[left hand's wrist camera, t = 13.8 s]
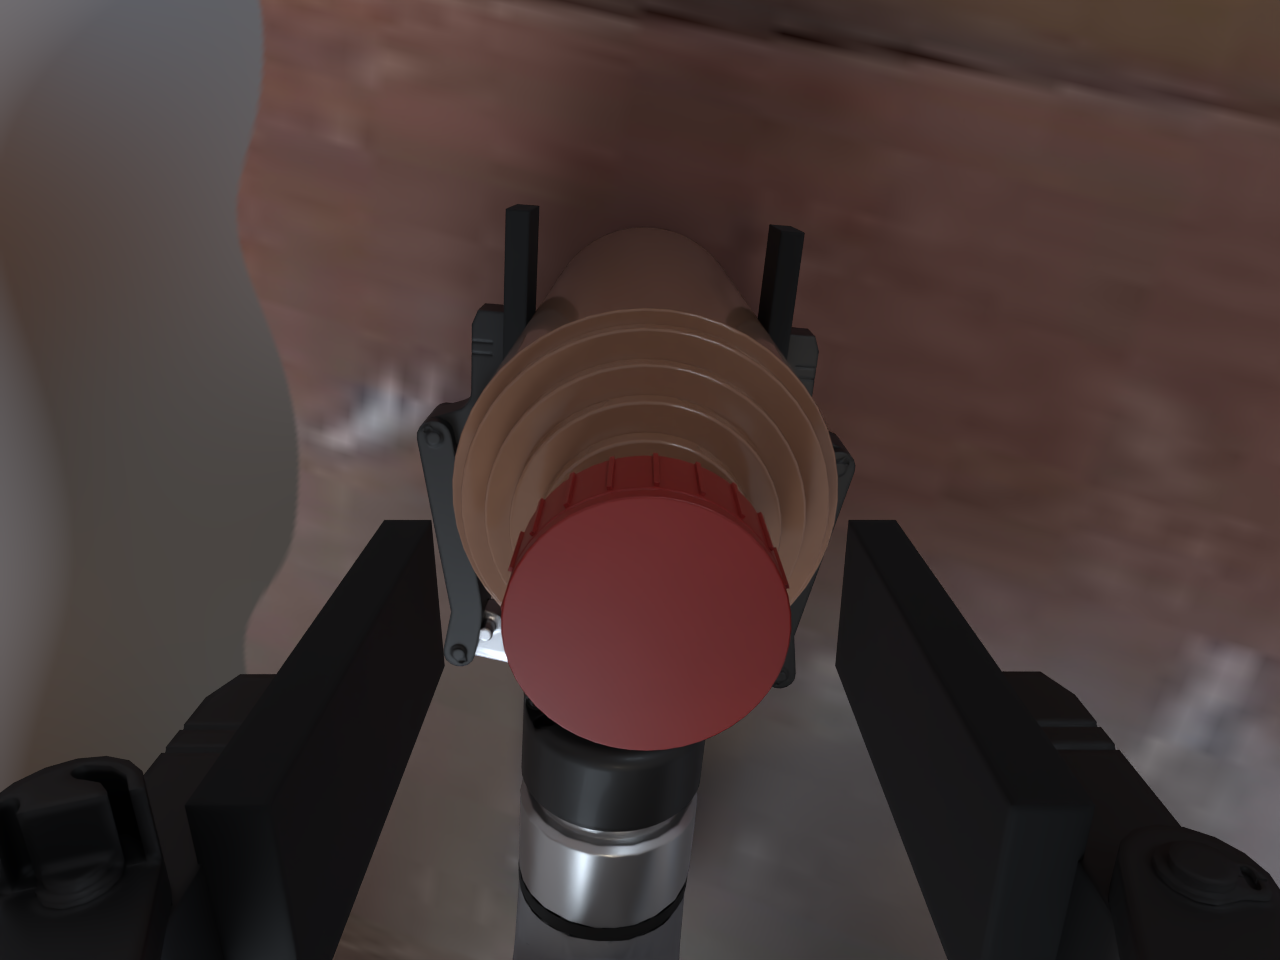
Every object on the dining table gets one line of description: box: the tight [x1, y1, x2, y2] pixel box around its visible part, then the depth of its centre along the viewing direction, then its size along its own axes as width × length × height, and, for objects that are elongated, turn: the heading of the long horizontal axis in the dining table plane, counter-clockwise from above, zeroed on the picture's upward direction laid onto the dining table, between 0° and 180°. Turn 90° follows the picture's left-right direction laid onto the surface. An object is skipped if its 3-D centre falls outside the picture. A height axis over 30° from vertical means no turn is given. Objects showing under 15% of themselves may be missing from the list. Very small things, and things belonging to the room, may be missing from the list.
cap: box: [501, 453, 791, 751], centre depth 14 cm, size 4×4×2 cm
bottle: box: [452, 227, 838, 607], centre depth 25 cm, size 8×8×24 cm
